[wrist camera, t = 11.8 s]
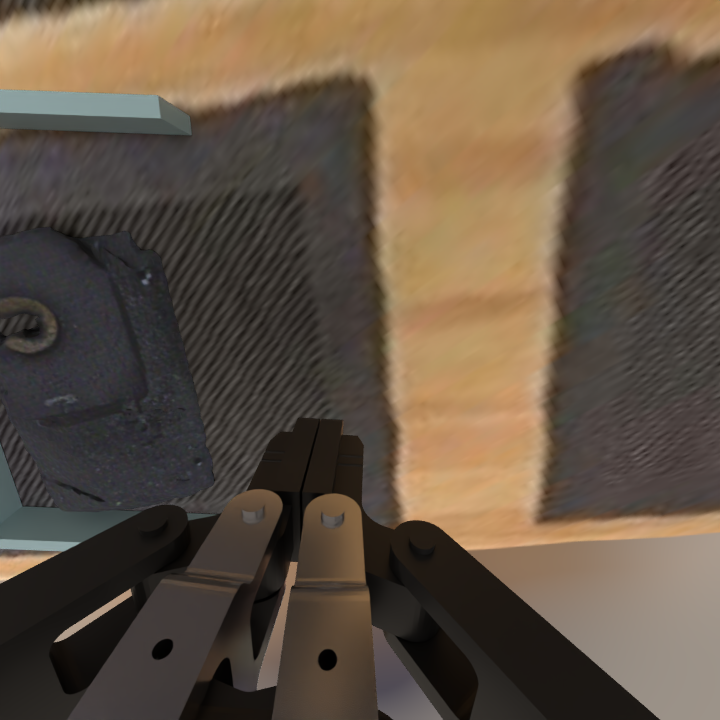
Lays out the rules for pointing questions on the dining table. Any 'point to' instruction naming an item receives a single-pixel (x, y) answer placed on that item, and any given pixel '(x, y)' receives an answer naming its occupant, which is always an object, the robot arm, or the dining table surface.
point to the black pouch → (99, 372)
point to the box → (90, 114)
